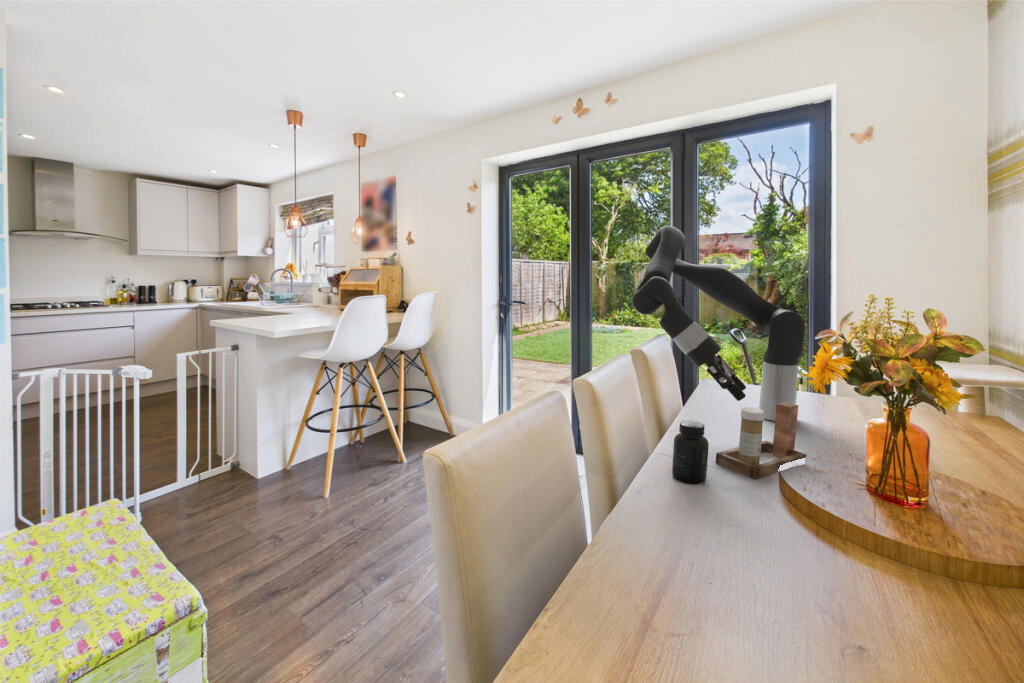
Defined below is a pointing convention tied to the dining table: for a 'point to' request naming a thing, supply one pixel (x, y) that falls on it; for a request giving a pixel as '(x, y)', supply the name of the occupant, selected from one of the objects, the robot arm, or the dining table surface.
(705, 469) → the supplement bottle
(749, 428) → the sprinkles bottle
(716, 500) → the dining table surface
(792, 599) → the dining table surface
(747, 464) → the wooden frame tray
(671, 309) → the robot arm
